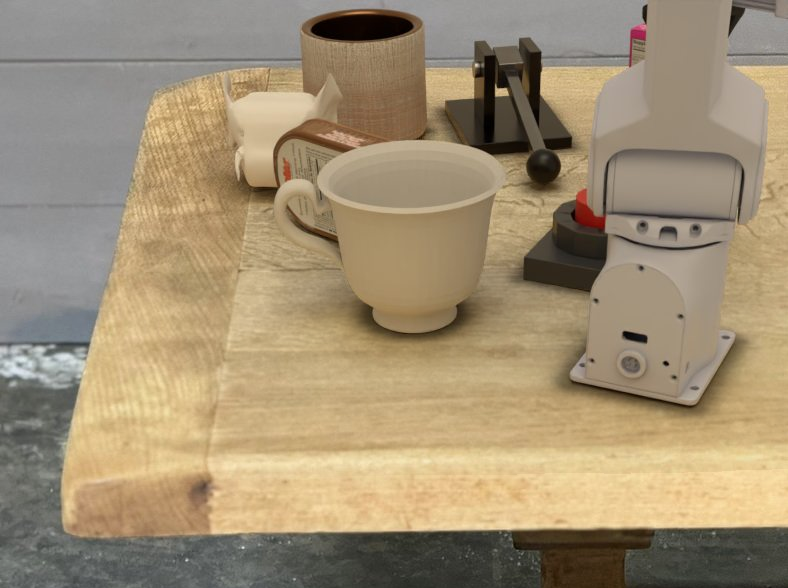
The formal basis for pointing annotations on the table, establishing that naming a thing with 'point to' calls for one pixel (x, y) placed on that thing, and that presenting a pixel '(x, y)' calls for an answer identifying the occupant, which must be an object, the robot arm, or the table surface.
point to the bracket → (504, 106)
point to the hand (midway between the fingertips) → (684, 108)
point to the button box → (567, 252)
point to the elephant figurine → (271, 124)
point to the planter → (370, 69)
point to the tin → (315, 164)
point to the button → (587, 212)
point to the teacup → (404, 225)
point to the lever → (525, 115)
